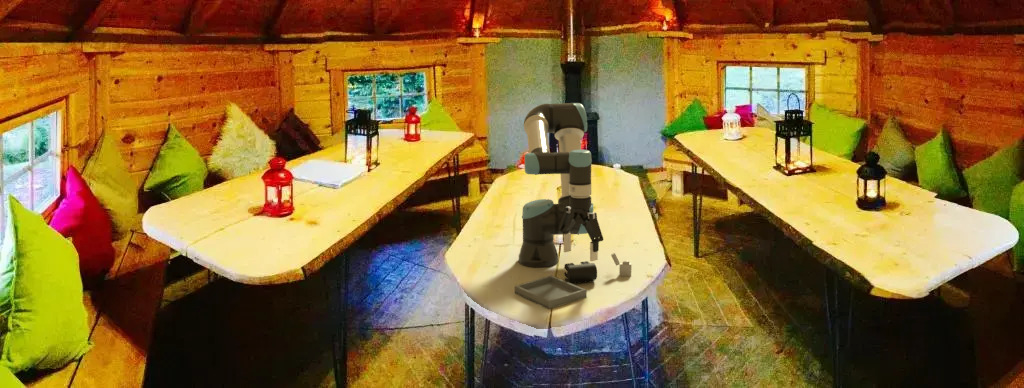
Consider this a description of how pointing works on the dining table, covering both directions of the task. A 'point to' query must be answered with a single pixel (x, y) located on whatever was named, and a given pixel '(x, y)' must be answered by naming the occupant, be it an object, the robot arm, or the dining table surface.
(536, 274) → the dining table surface
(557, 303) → the seat tray
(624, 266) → the lighter
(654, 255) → the dining table surface
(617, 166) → the dining table surface
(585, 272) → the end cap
